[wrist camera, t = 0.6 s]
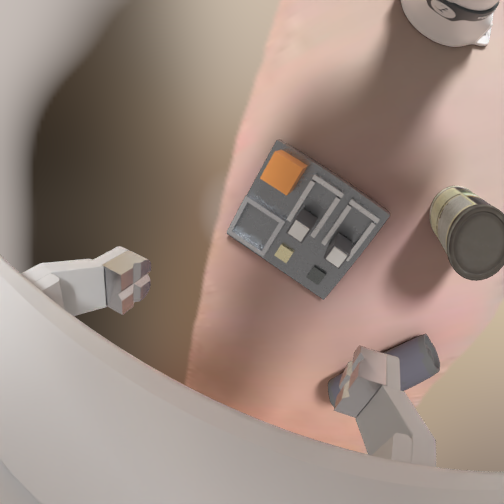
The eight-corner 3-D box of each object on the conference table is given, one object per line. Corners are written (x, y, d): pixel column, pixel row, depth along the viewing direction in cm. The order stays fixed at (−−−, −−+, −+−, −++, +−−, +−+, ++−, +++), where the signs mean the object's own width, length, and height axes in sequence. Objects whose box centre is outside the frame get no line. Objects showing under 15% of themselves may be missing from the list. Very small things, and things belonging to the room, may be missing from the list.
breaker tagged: (303, 208, 50) (294, 217, 45) (318, 218, 49) (311, 229, 44) (294, 222, 51) (284, 233, 46) (308, 232, 51) (301, 244, 46)
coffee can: (478, 181, 38) (512, 201, 26) (481, 239, 41) (511, 274, 29) (424, 189, 43) (444, 210, 31) (431, 247, 46) (448, 285, 34)
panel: (280, 139, 49) (274, 140, 46) (389, 212, 46) (390, 217, 44) (231, 230, 59) (223, 235, 56) (325, 294, 57) (322, 303, 54)
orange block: (281, 149, 47) (274, 151, 44) (307, 165, 47) (302, 168, 43) (267, 174, 50) (259, 178, 46) (292, 190, 49) (286, 195, 46)
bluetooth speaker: (352, 389, 63) (346, 422, 55) (330, 366, 63) (322, 398, 54) (438, 349, 52) (443, 383, 43) (420, 320, 51) (425, 353, 43)
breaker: (337, 231, 49) (333, 244, 44) (352, 242, 49) (350, 255, 44) (328, 245, 50) (322, 259, 45) (342, 255, 50) (338, 270, 45)
